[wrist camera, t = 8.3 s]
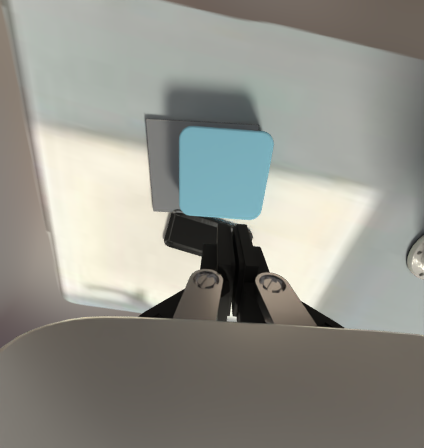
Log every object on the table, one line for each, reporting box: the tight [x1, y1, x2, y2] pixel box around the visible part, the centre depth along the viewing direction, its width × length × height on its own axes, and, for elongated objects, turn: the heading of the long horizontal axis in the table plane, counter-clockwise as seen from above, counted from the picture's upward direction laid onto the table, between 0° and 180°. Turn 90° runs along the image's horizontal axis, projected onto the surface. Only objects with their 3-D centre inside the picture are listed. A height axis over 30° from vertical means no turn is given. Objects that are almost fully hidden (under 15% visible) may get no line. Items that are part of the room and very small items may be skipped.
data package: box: [179, 126, 274, 220], centre depth 29 cm, size 12×4×12 cm
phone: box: [164, 209, 253, 256], centre depth 37 cm, size 8×1×15 cm
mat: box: [146, 119, 259, 213], centre depth 31 cm, size 16×14×1 cm
